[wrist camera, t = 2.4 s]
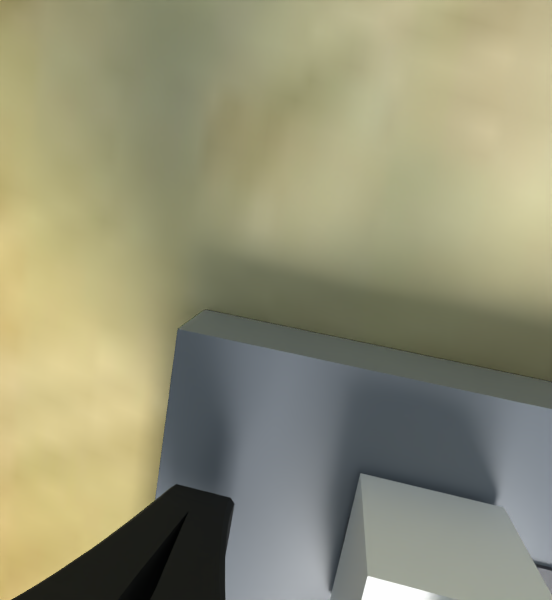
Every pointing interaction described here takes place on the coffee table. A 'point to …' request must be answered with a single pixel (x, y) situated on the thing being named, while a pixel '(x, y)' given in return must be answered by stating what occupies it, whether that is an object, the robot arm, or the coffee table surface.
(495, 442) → the switch panel
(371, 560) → the tab
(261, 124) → the coffee table surface
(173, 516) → the robot arm
